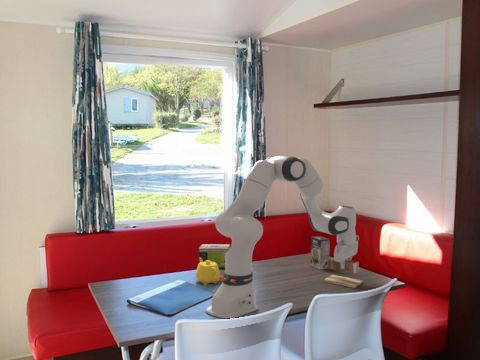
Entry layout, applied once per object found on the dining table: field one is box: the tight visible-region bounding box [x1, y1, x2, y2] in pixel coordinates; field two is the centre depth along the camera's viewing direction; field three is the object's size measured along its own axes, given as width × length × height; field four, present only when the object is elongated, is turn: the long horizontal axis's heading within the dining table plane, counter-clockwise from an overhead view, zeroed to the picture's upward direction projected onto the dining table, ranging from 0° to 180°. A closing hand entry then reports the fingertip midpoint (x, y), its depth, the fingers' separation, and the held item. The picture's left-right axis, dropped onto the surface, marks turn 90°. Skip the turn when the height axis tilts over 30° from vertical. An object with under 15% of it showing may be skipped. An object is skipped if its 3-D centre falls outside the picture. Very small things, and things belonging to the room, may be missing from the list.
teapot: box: [195, 256, 220, 286], centre depth 231 cm, size 18×11×11 cm, turn 29°
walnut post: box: [328, 257, 360, 274], centre depth 230 cm, size 4×4×14 cm
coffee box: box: [310, 235, 331, 270], centre depth 256 cm, size 9×6×16 cm
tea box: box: [198, 243, 231, 276], centre depth 244 cm, size 15×10×15 cm, turn 84°
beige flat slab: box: [323, 274, 364, 289], centre depth 231 cm, size 10×16×1 cm, turn 54°
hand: (345, 267), depth 230 cm, fingers closed on walnut post, 4 cm apart
